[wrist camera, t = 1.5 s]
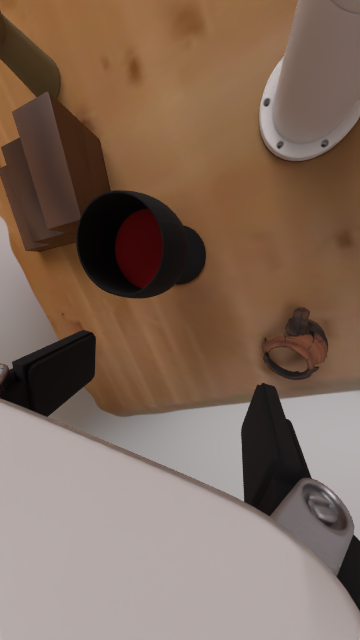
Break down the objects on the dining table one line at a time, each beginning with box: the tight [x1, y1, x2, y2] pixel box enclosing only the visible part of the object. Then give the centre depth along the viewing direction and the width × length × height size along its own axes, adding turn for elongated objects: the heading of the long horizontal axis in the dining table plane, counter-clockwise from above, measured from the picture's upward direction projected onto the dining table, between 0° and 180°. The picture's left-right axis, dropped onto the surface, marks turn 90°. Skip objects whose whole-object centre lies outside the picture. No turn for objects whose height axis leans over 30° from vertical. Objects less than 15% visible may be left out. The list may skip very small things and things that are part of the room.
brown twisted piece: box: [262, 307, 328, 380], centre depth 32 cm, size 12×10×8 cm
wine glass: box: [76, 191, 205, 298], centre depth 26 cm, size 10×10×20 cm
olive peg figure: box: [0, 11, 60, 98], centre depth 28 cm, size 6×6×11 cm
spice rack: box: [0, 91, 110, 252], centre depth 34 cm, size 21×15×10 cm
